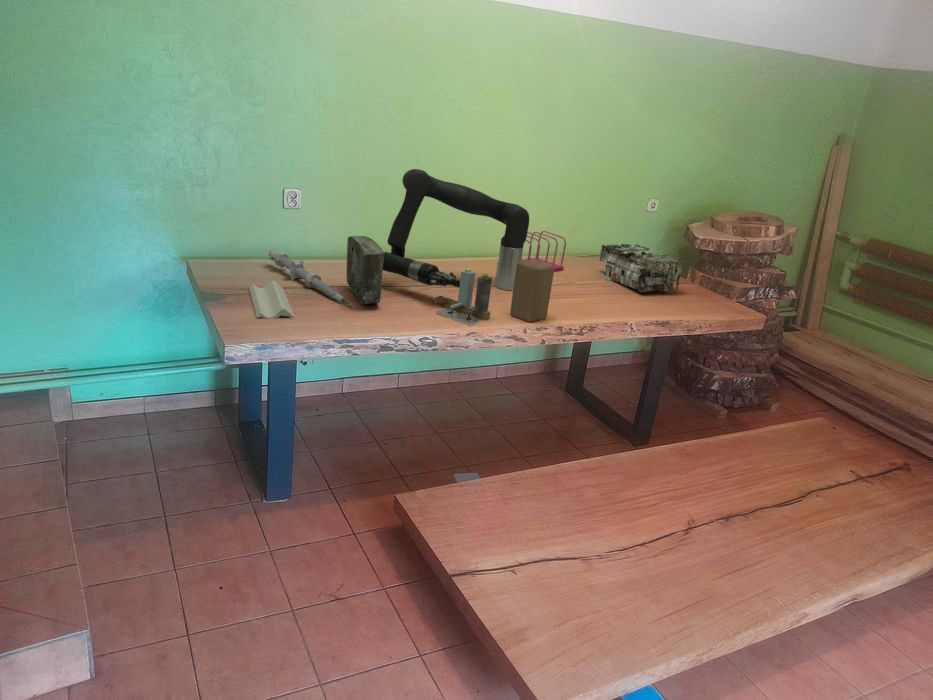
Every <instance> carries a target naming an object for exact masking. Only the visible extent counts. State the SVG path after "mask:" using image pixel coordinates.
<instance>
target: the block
mask: <svg viewBox="0 0 933 700" xmlns="http://www.w3.org/2000/svg"><path fill="white" fill-rule="evenodd" d="M554 274H555V271H554V266H553V265H551V264H548V263H545V262H542V261H539V260H536V259H533V260H526V261H519V262H518V263H517V267H516V274H515V281H514V288H513V290H512V297H511V304H510V311H509V312H510V315H511V316H513V317H516V318H518V319H521V320H523V321H525V322H528V323H533V322H537V321H540V320H545V319H546V318H547V317H548V310H549V306H550V305H549V304H550V300H551V299H550V298H551V293H552V292H551V291H552V286H553V280H554Z"/></svg>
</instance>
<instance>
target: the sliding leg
mask: <svg viewBox="0 0 933 700" xmlns="http://www.w3.org/2000/svg"><path fill="white" fill-rule="evenodd" d="M475 276H476V271H472V268H471V267H465V270H461V271H460V279H459V280H460V286H459V287H458V295H457V296H458V297H457V301H458V304H454V305H451V306H450V308H452V309H451V312H453V309H454V308H456V307H459V306H465V307H466V306H469V305H471V306H472V301H473V293H474V284H475Z"/></svg>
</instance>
